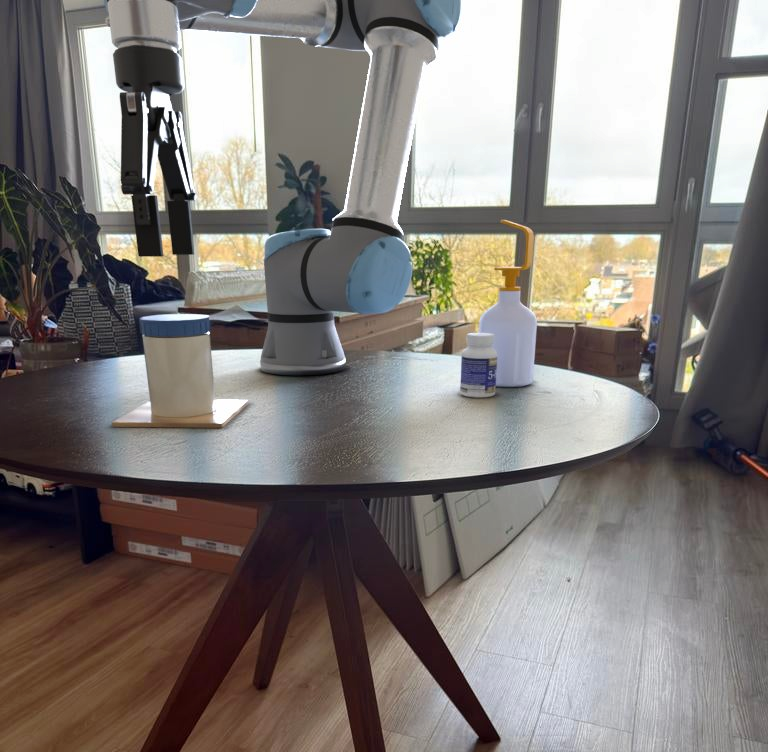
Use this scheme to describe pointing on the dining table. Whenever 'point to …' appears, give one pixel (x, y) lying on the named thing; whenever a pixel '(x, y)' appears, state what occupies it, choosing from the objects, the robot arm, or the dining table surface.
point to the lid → (174, 325)
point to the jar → (180, 375)
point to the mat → (211, 420)
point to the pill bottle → (478, 366)
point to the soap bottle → (512, 325)
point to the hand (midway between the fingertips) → (168, 255)
